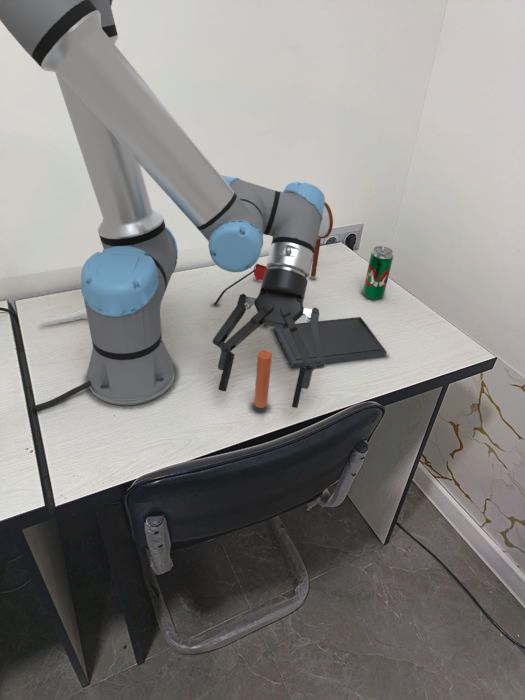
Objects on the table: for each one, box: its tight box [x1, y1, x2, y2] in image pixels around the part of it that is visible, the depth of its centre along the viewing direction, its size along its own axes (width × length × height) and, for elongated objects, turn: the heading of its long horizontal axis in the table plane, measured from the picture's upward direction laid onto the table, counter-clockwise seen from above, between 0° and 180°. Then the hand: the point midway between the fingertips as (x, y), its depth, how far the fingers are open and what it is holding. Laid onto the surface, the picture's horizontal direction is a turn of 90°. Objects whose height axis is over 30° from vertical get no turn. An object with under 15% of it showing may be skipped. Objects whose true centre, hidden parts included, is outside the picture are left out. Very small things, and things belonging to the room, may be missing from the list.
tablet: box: [273, 316, 388, 369], centre depth 103 cm, size 20×13×1 cm, turn 105°
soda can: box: [362, 245, 394, 301], centre depth 116 cm, size 5×5×12 cm
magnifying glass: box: [310, 201, 334, 280], centre depth 119 cm, size 9×2×20 cm, turn 27°
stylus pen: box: [39, 307, 88, 326], centre depth 103 cm, size 15×3×2 cm, turn 121°
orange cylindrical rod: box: [253, 349, 272, 414], centre depth 83 cm, size 2×2×12 cm
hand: (257, 399), depth 81 cm, fingers open, 12 cm apart
